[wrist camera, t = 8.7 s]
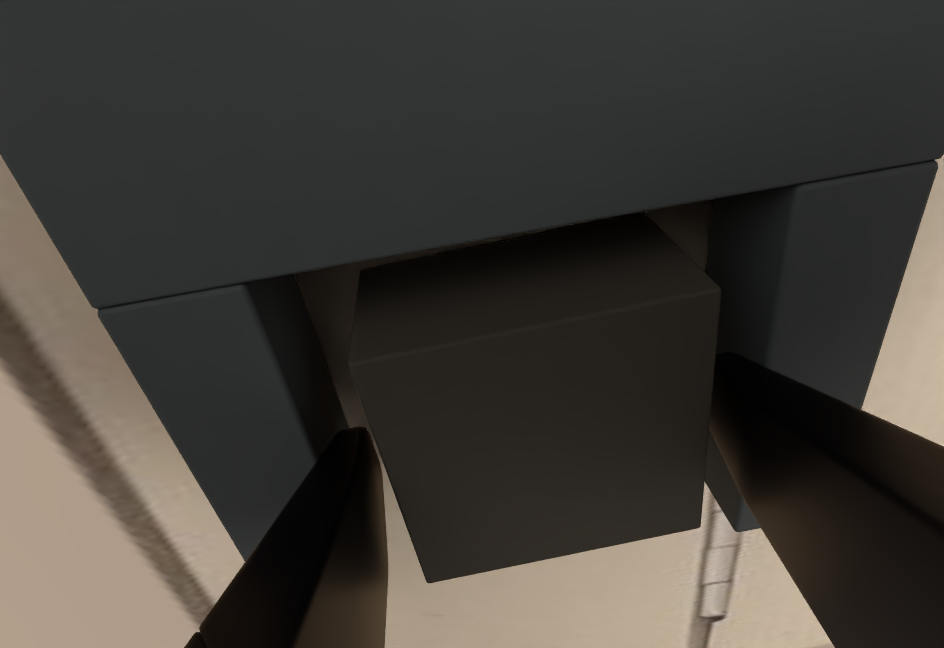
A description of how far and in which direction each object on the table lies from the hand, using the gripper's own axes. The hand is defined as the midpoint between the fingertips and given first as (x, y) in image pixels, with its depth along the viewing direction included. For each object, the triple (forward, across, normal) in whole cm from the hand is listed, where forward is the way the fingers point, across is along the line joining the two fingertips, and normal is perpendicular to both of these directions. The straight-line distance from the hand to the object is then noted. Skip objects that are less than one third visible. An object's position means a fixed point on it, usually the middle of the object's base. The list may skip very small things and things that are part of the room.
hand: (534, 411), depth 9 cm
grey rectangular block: (+1, 0, -16) cm, 16 cm away
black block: (+1, 0, 0) cm, 1 cm away
